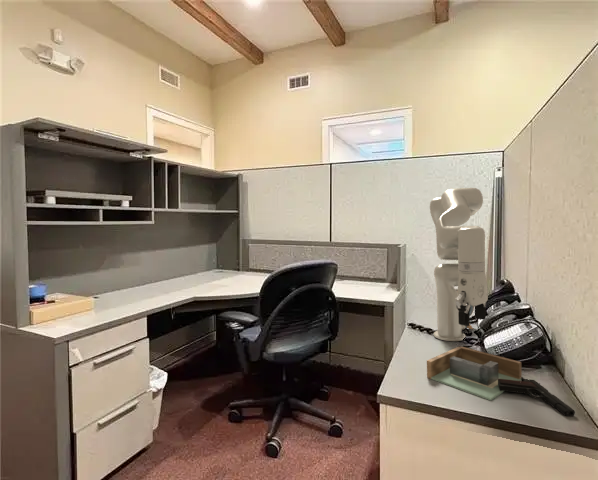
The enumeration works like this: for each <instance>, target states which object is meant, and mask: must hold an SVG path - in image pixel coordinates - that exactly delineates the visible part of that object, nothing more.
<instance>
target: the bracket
mask: <svg viewBox="0 0 598 480" xmlns="http://www.w3.org/2000/svg"><path fill="white" fill-rule="evenodd" d="M450 374H453V375H456V376H459V377H462V378H465V379H468V380H471V381H474V382H478V383H481V384H484V385H487V386H488V385H490V384H491V383H493V382H495V381H496V380H498V379H499V372H498V363H496V362H492V361H489V362H488V363H486V364H484V365H482V364H478V363H475V362H471V361H468V360H465V359H461V358H458V357H454V356H453V357H451V358H450Z"/></svg>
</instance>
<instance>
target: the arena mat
mask: <svg viewBox="0 0 598 480" xmlns="http://www.w3.org/2000/svg"><path fill="white" fill-rule="evenodd" d="M430 378H431V379H430ZM430 378H429V379H430V380H433V381H436V382H438V383H441V384H443V385H447V386H449V387H451V388H454V389H458V390H461V391H463V392H466V393H469V394H471V395H474V396H477V397H479V398H483V399H485V400H488V401H493V400H494V399H495V398H497V397H498V396H500V395H502V394H503V393H505V391H502V390H500V389H499V386H498V380H496V381H495V382H493V383H491V384H490V385H488V386H487V385H484V384H481V383H478V382H474V381H471V380H468V379H465V378H462V377H459V376H456V375H453V374H450V368H449V369H447V370H445V371H443V372H441V373H439V374H437V375H435V376H433V377H430ZM499 379H507V380H516V381H521V379H517V378H514V377H510V376H507V375H503V374H500V373H499Z"/></svg>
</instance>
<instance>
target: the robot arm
mask: <svg viewBox="0 0 598 480" xmlns="http://www.w3.org/2000/svg"><path fill="white" fill-rule="evenodd" d="M483 199H484V198H483V194H482V192H481V190H480V189H478V188H477V187H463V188H462V187H460V188H450V189H447V190H445V191H444V192H443V193H442V194H441V195H440V197H439V196H438V197H435V198H433V199H432V200H431V201H430V203H429V213H430V216H431V218H432V221H433V223H434V227H435V233H436V236H435V238H436V254H437V257H438V258H439V259H440V260H441V261H457V263H455V262H454V263H442V264H438V265H436V266H435V267H434V269H433V271H434V272H433V276H434V281H435V289H436V313H437V314H436V315H437V316H436V317H437V318H436V319H437V320H436V321H437V322H436V323H437V330H436V331H434V332H433V337H435V339H437V340H441V341H446V342H461V341H464V340H465V339H466V338H465V337H466V334H465V333H464V332H463V331H462V330H464V329H465V326H469V325H470V324H471V322H470V321H471V319H470V317H471V316H470V314H469V313H468V311H469V308H470V305H471V306H474V318H475V319H479V320H483V321H484V320H486V307H487V301H488V298H489V293H488V292H489V291H488V281H487V280H488V279H487V274H486V231H485V230H484V228H483V227H480V226H479V225H464V224H465V223H467V222H468V221H469V220H470V218H471V217H472V216H474V215H475V214H476V213H477V212H478V211H480V209H481V208H482V207H483V204H484V203H483V202H484V200H483ZM455 287H457V289H458V292H457V291H456V290H455V289H456V288H455ZM463 305H464V306H466V308H465V307H464V306H463ZM464 338H465V339H464ZM463 339H464V340H463Z"/></svg>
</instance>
